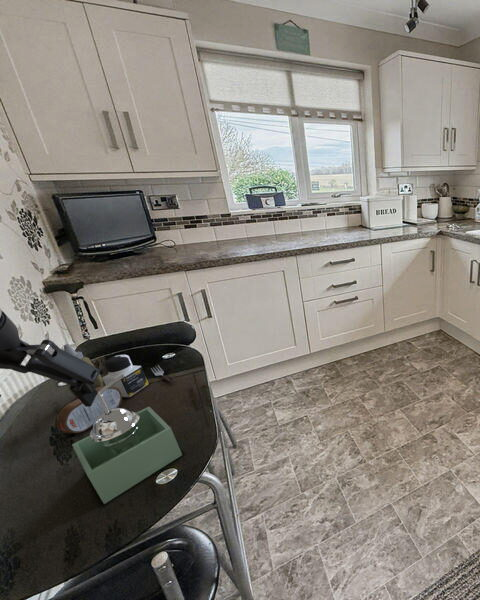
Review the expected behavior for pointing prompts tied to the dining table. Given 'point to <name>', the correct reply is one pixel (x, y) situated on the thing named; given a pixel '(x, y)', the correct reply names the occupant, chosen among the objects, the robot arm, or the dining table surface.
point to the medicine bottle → (132, 374)
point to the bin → (129, 457)
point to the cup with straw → (115, 427)
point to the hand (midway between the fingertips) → (44, 401)
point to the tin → (87, 411)
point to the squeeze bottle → (79, 355)
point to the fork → (161, 374)
